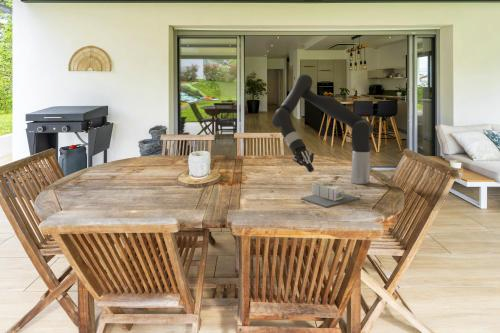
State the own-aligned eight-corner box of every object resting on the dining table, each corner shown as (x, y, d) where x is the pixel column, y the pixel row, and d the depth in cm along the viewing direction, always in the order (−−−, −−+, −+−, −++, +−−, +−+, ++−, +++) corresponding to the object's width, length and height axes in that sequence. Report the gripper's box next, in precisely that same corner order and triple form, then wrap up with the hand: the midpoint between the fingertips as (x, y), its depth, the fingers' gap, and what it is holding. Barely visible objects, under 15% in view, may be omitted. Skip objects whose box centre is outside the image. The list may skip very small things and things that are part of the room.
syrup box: (311, 194, 181) (335, 201, 170) (311, 182, 180) (335, 189, 169) (320, 192, 185) (343, 199, 173) (320, 180, 183) (344, 186, 172)
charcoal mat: (334, 191, 189) (334, 190, 188) (360, 199, 176) (360, 197, 176) (300, 199, 176) (300, 197, 176) (326, 207, 163) (326, 206, 163)
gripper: (301, 145, 197) (317, 173, 190) (281, 149, 190) (297, 177, 183) (308, 136, 192) (325, 164, 185) (288, 139, 184) (305, 168, 177)
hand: (311, 171), depth 184 cm, fingers closed
